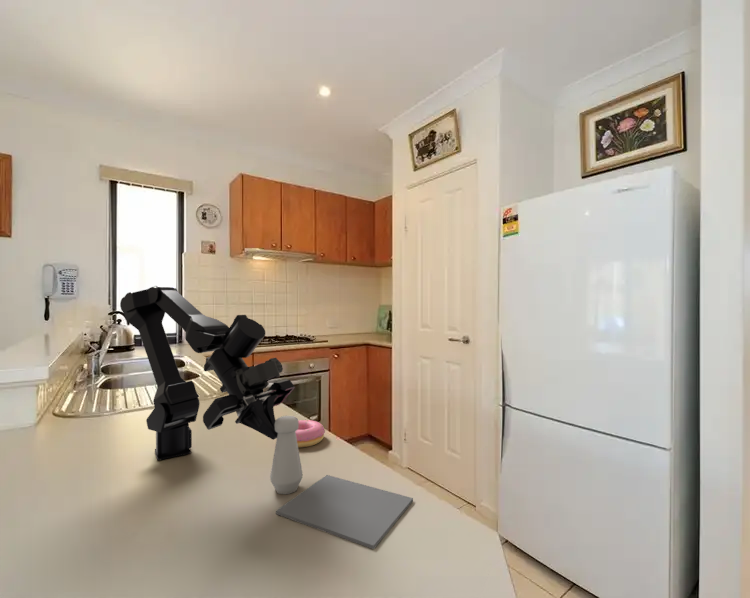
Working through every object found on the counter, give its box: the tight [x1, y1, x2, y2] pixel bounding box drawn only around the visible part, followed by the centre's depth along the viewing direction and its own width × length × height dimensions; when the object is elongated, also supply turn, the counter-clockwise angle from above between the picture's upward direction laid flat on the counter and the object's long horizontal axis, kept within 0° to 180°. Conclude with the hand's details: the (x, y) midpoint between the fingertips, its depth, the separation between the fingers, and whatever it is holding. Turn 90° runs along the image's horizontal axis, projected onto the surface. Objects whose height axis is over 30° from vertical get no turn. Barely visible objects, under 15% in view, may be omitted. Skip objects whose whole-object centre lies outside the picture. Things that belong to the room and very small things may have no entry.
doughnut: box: [295, 419, 326, 448], centre depth 92 cm, size 11×11×4 cm
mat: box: [275, 474, 414, 550], centre depth 63 cm, size 18×14×1 cm
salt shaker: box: [269, 415, 303, 495], centre depth 69 cm, size 6×6×13 cm
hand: (276, 437), depth 70 cm, fingers closed
